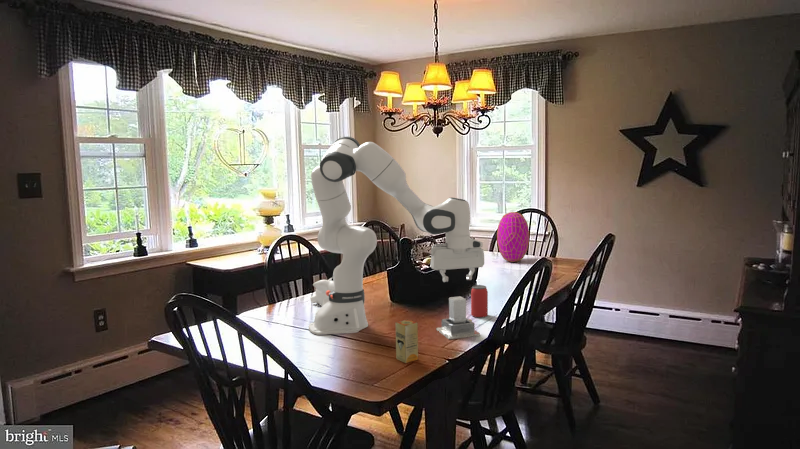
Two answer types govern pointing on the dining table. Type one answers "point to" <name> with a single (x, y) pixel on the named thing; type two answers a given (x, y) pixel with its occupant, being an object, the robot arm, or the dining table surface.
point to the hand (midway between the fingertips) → (457, 280)
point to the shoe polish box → (407, 341)
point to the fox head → (322, 291)
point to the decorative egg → (513, 236)
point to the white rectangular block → (457, 310)
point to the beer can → (479, 301)
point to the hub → (458, 329)
